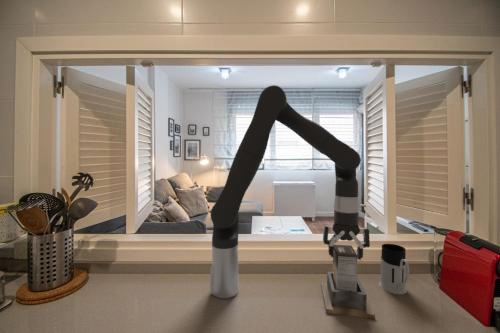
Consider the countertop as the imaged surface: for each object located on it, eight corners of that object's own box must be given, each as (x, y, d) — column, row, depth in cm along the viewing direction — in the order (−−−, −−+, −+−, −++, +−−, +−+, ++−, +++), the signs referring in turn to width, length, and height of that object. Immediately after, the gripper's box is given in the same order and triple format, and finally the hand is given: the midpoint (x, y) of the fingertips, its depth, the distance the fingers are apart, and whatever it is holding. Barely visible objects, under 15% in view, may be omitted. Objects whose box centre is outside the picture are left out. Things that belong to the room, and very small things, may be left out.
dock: (325, 312, 73) (326, 293, 73) (321, 285, 89) (321, 269, 89) (374, 318, 70) (375, 298, 70) (361, 289, 86) (361, 272, 86)
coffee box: (332, 288, 85) (332, 243, 84) (351, 289, 84) (351, 245, 83) (336, 303, 76) (336, 254, 75) (357, 305, 75) (358, 255, 74)
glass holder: (398, 281, 91) (399, 243, 91) (421, 304, 77) (422, 259, 77) (375, 280, 92) (375, 242, 92) (393, 303, 78) (394, 258, 78)
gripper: (325, 210, 76) (324, 260, 77) (372, 213, 73) (371, 264, 74) (322, 206, 84) (322, 251, 84) (366, 208, 81) (365, 254, 81)
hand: (345, 257), depth 79 cm, fingers open, 8 cm apart
